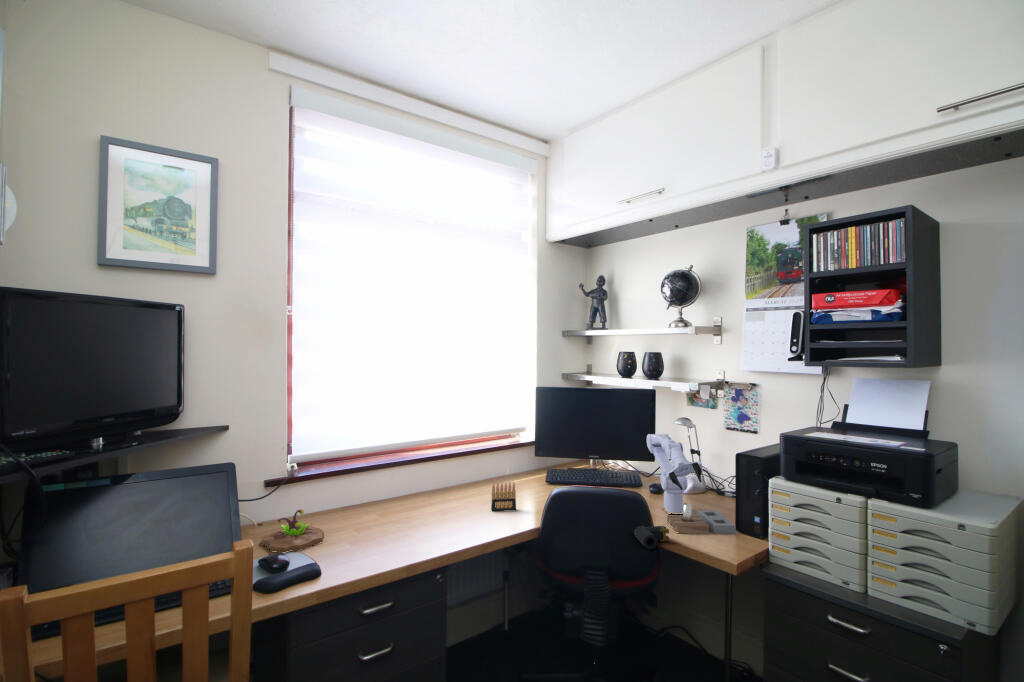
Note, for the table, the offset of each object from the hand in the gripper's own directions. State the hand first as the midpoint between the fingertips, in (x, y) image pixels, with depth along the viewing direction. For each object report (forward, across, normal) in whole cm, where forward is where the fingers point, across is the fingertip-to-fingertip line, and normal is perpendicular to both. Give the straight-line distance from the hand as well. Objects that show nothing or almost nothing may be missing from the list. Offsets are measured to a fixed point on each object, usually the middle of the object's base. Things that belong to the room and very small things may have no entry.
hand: (690, 484), depth 191 cm
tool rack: (+3, +2, +21) cm, 21 cm away
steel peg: (+6, -8, +14) cm, 18 cm away
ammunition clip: (-12, -76, -12) cm, 78 cm away
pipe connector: (+18, -21, +2) cm, 28 cm away
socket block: (+6, -8, +14) cm, 18 cm away
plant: (+22, -135, -59) cm, 149 cm away
